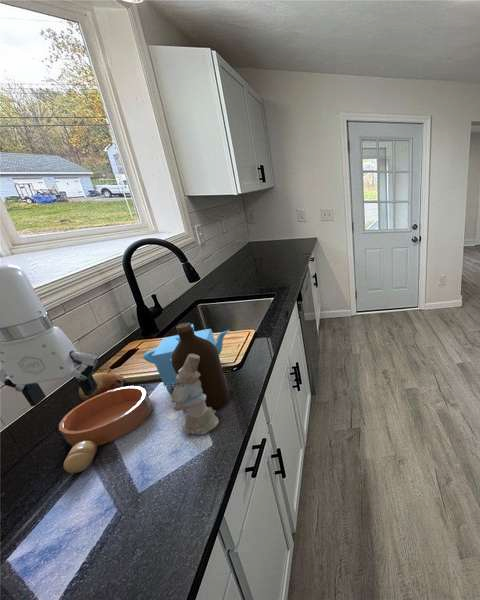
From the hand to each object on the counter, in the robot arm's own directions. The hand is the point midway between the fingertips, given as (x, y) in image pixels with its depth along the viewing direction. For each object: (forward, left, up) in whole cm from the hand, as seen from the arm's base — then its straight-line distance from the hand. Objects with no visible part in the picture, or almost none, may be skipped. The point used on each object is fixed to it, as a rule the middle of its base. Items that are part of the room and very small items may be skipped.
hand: (66, 396), depth 69 cm
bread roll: (-6, +31, -17) cm, 36 cm away
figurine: (+22, -3, -17) cm, 28 cm away
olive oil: (+24, +6, -17) cm, 30 cm away
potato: (-2, -2, -17) cm, 17 cm away
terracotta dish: (0, +12, -17) cm, 21 cm away
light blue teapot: (+20, +25, -17) cm, 36 cm away
